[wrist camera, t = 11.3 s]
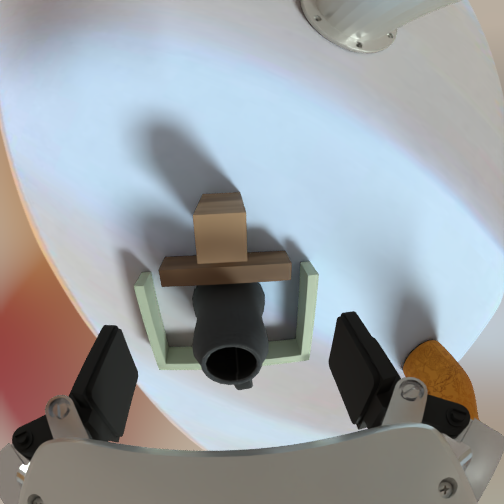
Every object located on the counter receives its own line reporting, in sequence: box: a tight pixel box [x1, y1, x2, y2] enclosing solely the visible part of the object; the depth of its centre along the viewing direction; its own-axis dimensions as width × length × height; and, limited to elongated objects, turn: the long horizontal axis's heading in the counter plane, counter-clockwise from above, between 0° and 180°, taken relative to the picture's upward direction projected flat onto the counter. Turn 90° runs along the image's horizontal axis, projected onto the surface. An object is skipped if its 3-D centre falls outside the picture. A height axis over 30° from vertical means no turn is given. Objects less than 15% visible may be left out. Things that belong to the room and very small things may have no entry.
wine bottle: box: [403, 340, 480, 421], centre depth 29 cm, size 10×10×30 cm
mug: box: [192, 282, 269, 390], centre depth 29 cm, size 12×9×11 cm
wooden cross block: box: [159, 192, 292, 287], centre depth 26 cm, size 9×14×9 cm, turn 91°
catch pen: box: [134, 261, 319, 370], centre depth 33 cm, size 13×20×4 cm, turn 92°
